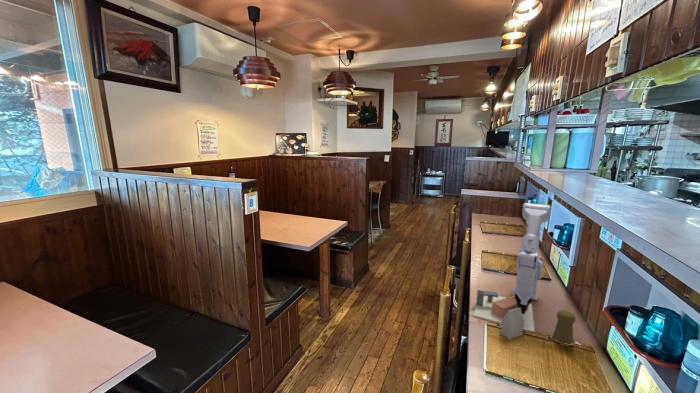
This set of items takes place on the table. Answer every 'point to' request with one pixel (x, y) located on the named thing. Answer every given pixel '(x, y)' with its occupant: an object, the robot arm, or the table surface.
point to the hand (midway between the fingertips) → (521, 312)
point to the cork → (564, 327)
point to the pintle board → (485, 312)
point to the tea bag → (512, 323)
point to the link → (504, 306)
